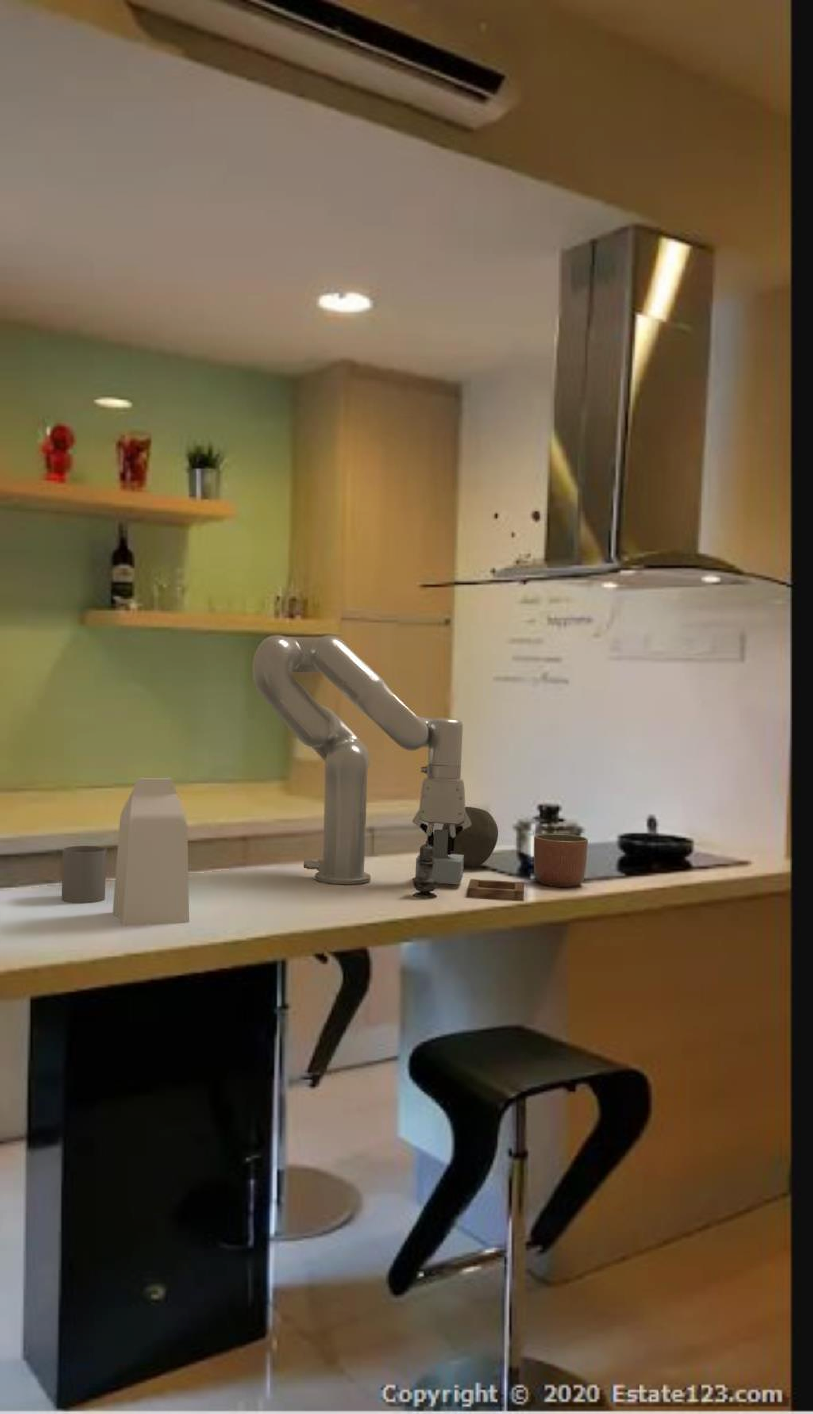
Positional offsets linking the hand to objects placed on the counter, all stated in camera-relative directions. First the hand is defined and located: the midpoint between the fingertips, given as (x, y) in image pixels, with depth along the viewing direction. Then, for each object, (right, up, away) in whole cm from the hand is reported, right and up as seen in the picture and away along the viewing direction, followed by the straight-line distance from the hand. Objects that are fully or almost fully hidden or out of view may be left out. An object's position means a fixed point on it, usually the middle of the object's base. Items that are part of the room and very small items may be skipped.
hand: (440, 852), depth 254 cm
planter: (+28, -8, +6) cm, 30 cm away
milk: (-55, -6, -45) cm, 72 cm away
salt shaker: (-4, -8, -14) cm, 17 cm away
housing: (0, -6, 0) cm, 6 cm away
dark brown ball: (+8, -7, +24) cm, 27 cm away
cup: (-72, -5, -31) cm, 79 cm away
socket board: (+12, -8, -9) cm, 17 cm away
